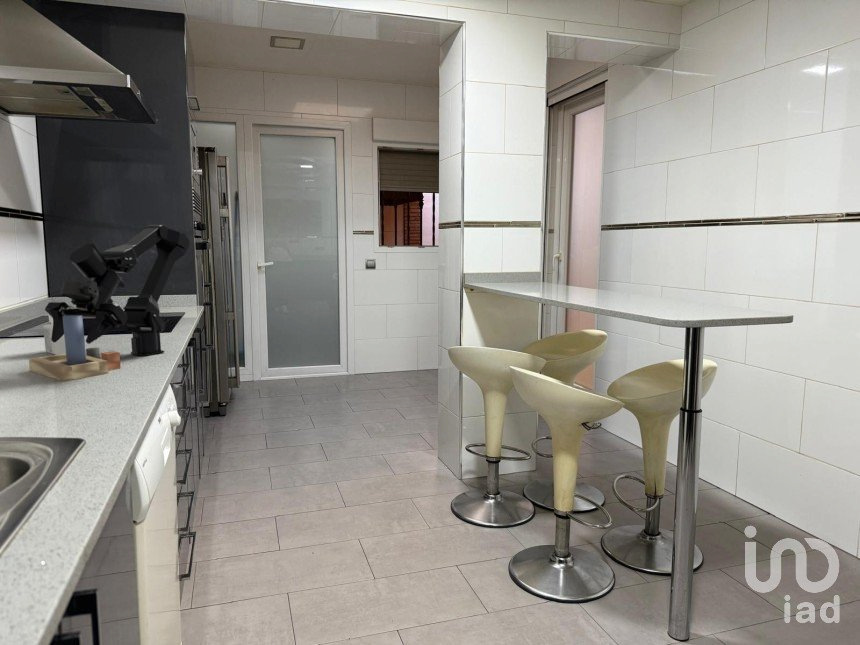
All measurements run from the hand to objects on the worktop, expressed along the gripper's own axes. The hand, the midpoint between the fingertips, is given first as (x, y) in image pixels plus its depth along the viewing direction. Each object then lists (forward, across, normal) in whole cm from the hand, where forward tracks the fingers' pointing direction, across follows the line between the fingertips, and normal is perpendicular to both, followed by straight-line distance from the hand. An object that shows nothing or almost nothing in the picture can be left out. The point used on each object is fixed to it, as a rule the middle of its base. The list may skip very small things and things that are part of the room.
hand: (70, 342), depth 142 cm
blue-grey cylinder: (+5, 0, +7) cm, 8 cm away
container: (-12, -25, +24) cm, 37 cm away
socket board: (+2, -3, +9) cm, 10 cm away
